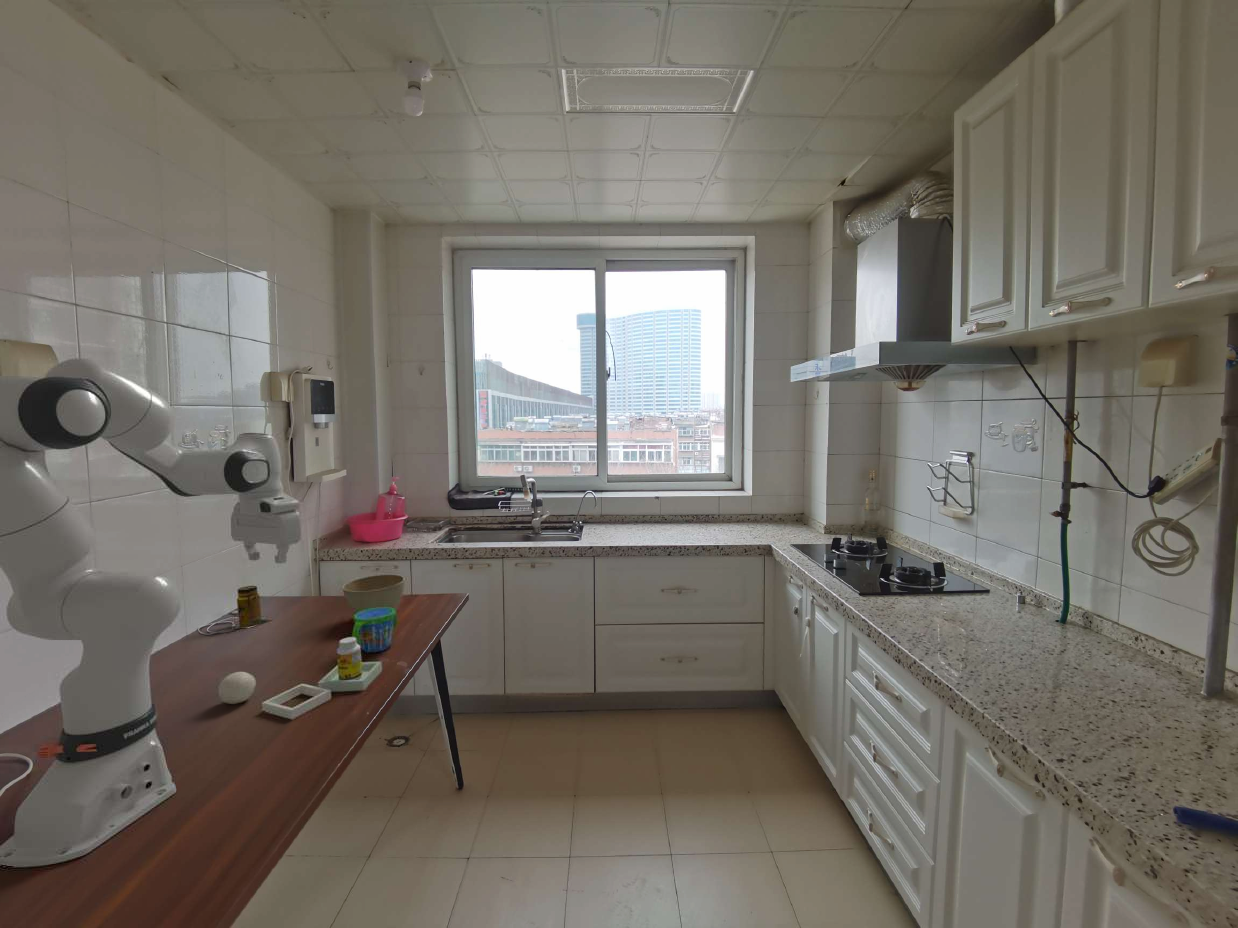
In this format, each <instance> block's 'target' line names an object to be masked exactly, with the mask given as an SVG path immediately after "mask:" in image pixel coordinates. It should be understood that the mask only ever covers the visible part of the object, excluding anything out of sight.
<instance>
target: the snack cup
mask: <svg viewBox="0 0 1238 928" xmlns="http://www.w3.org/2000/svg"><path fill="white" fill-rule="evenodd" d="M352 618H353V621H354V625H353V629H352V634H351V635H352V636H351V637H355V638H356V642H357V644H358V645H360V647H361V649H362V651H364V652H366V653H377V652H378V653H379V652H383V651H385V650H387V649H388V648H390V647H391V646H392V640H393V630H394V628H397V627H398V625H399V621H398V620H399V619H398V617H397V612H396V611H395V610H394V609H393V608H389V607H378V608H371V609H367V610H363V611H360V612H358V613H357V614H353V617H352Z"/></svg>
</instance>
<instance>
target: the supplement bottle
mask: <svg viewBox="0 0 1238 928" xmlns="http://www.w3.org/2000/svg"><path fill="white" fill-rule="evenodd" d="M338 643H339V647H338V648H337V650H336V658H337V659H336V662H337V665H338V675H339V680H357V679H359V678H360V677H361V676H362V662H363V661H362V653H361V652H362V651H361V649H362V648H361V646H360V645H358V644H357V642H356V638H355V637H352V636H350V637H349V636H348V637H345V638H342V639H340V640H339V642H338Z"/></svg>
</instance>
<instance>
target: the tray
mask: <svg viewBox="0 0 1238 928" xmlns="http://www.w3.org/2000/svg"><path fill="white" fill-rule="evenodd" d="M361 662H362V676H361V677H360V678H359V679H357V680H339V675H338V664H337V665H336V666H334V668H332V670H330V671H329V672H328V673H327V674H326V675H324V677H322V678H321V679H320V680H319V681H318V682H317V687H319V688H324V689H328V690H331V693H334V692H335V693H336V692H337V693H338V692H356V691H358V692H359V691H365V690H366V689H367V688H368V686H369V685H370V684H371V683H372V682H373V681H374V680H375V679H376V678H377V677H378V676H379V675H380V674H381V672H382V671H383V664H382V661H366V662H364V661H361Z"/></svg>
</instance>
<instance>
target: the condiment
mask: <svg viewBox="0 0 1238 928" xmlns="http://www.w3.org/2000/svg"><path fill="white" fill-rule="evenodd" d="M236 603H237V613H238V614H237V616H238V624H236V625H233V627H235V628H241V629H243V628H244V629H251V628H254V627H256V626H259V625H262V624H263V623H267V622H270V621H271V620H273V618H267V617H266V618H265V617H262V613H261V612H262V611H261V600H260V594H259V592H258V587H257V585H249V586H248V585H247V586H242V587H240V588H238V589H237V598H236Z"/></svg>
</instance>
